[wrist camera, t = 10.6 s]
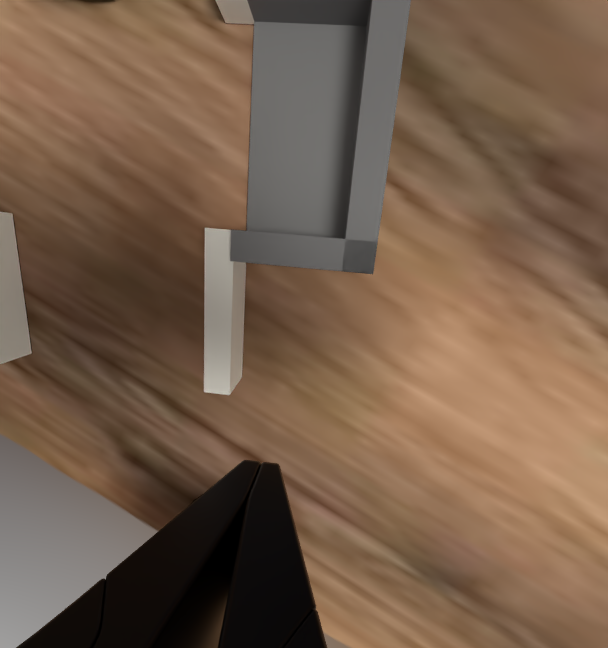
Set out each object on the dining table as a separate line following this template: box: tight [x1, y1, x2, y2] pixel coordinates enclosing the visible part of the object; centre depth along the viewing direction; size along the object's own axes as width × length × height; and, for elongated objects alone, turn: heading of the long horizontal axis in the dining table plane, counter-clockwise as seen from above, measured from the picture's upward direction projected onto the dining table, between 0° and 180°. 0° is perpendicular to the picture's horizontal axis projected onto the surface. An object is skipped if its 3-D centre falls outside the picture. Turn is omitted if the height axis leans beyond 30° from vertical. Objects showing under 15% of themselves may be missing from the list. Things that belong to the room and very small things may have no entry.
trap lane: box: [0, 0, 411, 395], centre depth 15 cm, size 30×30×4 cm
